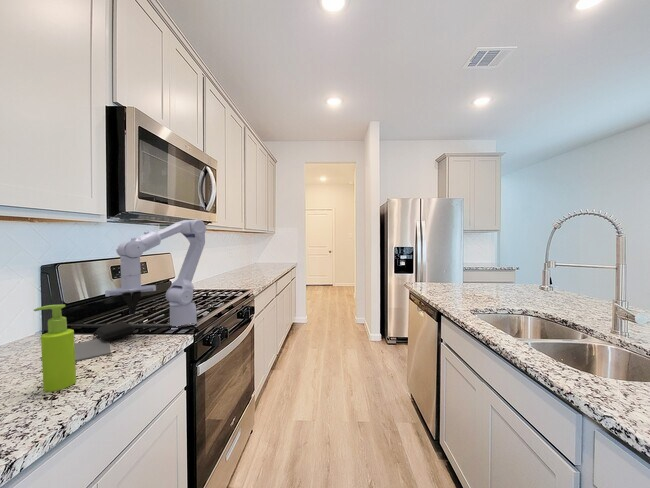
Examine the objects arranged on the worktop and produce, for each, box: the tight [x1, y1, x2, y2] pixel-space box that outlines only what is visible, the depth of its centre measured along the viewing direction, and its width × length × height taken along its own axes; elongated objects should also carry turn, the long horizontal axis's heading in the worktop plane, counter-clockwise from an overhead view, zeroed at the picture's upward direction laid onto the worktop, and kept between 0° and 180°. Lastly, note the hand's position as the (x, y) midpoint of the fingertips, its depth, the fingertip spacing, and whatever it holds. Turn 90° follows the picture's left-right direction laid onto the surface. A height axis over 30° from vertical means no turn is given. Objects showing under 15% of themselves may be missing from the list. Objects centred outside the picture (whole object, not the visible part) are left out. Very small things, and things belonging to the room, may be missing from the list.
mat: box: [74, 337, 112, 363], centre depth 90 cm, size 14×18×1 cm
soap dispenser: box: [33, 303, 77, 393], centre depth 69 cm, size 6×7×20 cm
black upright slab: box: [92, 321, 136, 342], centre depth 103 cm, size 11×3×15 cm
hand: (132, 313), depth 99 cm, fingers closed
